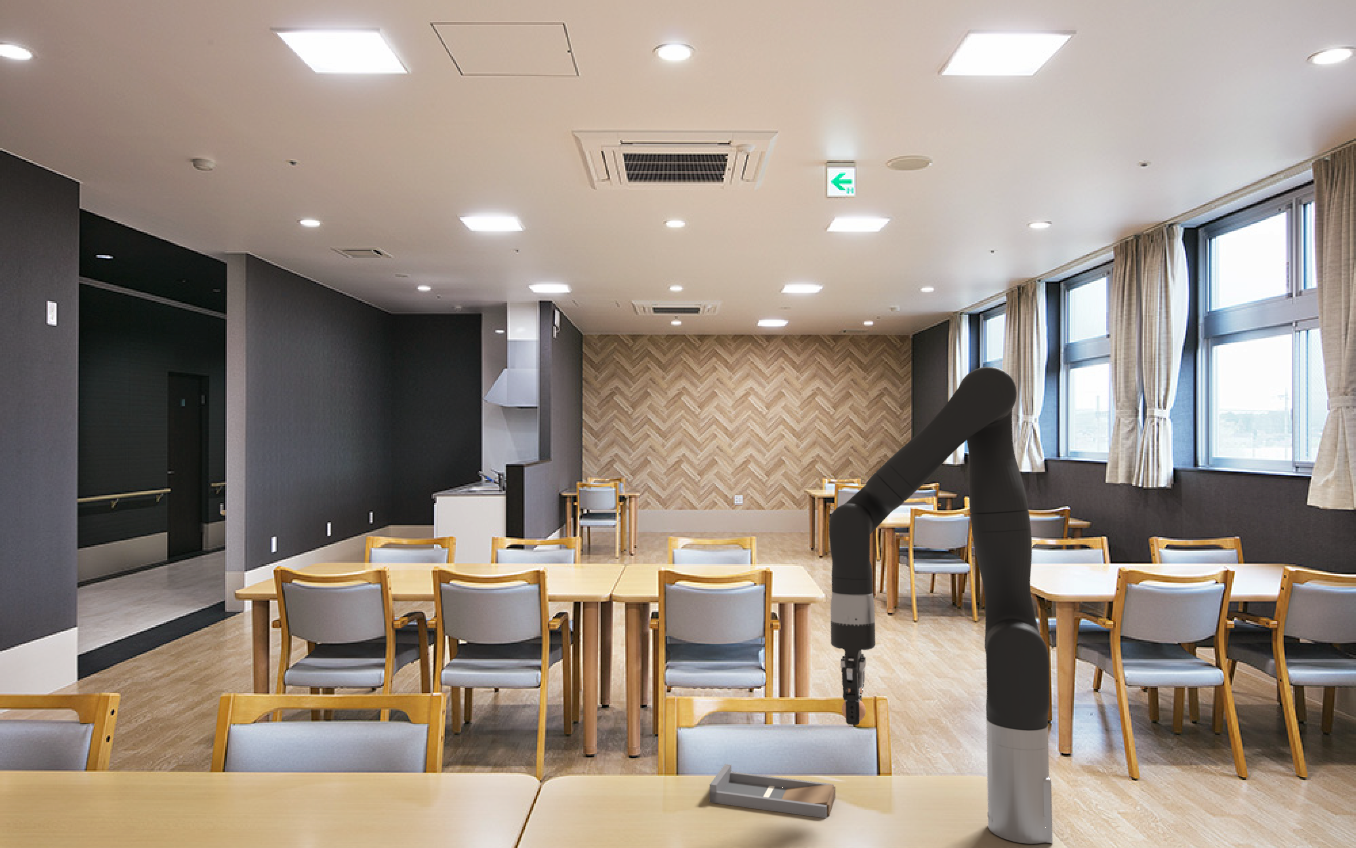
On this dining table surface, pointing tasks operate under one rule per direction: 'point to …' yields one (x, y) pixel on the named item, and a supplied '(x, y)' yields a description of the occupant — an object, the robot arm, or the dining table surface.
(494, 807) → the dining table surface
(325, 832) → the dining table surface
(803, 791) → the ramp
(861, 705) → the ball
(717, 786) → the lane
